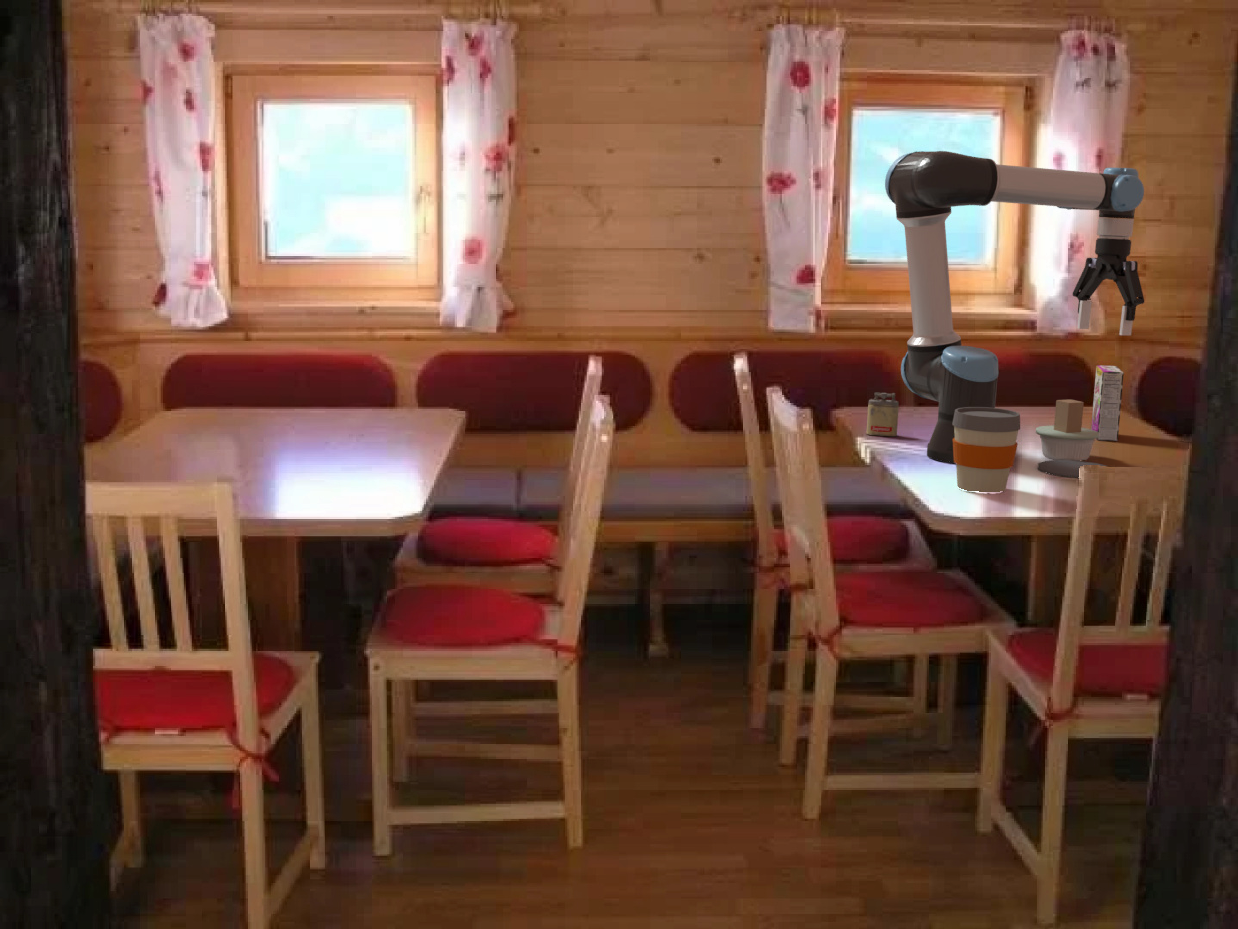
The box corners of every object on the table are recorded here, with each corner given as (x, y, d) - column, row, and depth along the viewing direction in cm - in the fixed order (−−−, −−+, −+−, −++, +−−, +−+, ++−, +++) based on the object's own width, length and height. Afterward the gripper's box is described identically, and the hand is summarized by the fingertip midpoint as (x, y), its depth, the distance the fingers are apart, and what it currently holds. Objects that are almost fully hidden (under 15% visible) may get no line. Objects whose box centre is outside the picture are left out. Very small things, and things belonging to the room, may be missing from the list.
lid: (1062, 441, 283) (1066, 407, 282) (1023, 430, 295) (1025, 397, 294) (1111, 438, 288) (1115, 404, 287) (1070, 428, 300) (1073, 395, 299)
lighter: (865, 435, 314) (868, 392, 312) (866, 432, 317) (869, 390, 315) (896, 437, 312) (899, 394, 310) (897, 434, 316) (900, 392, 314)
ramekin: (1027, 454, 296) (1029, 431, 295) (1067, 451, 300) (1069, 428, 299) (1062, 464, 286) (1064, 440, 285) (1103, 461, 290) (1106, 437, 289)
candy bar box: (1089, 432, 324) (1095, 364, 321) (1111, 433, 323) (1117, 365, 320) (1095, 440, 314) (1102, 370, 310) (1118, 441, 313) (1125, 371, 309)
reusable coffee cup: (1025, 496, 253) (1031, 417, 250) (960, 496, 252) (966, 417, 249) (1001, 482, 266) (1007, 407, 263) (939, 481, 265) (944, 406, 262)
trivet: (1070, 480, 269) (1070, 476, 268) (1022, 465, 282) (1023, 462, 282) (1130, 476, 274) (1130, 472, 274) (1080, 462, 288) (1080, 458, 287)
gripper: (1168, 240, 294) (1156, 337, 298) (1088, 235, 316) (1078, 326, 320) (1141, 239, 291) (1130, 337, 295) (1063, 234, 313) (1053, 326, 318)
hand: (1103, 332), depth 308 cm, fingers open, 13 cm apart
